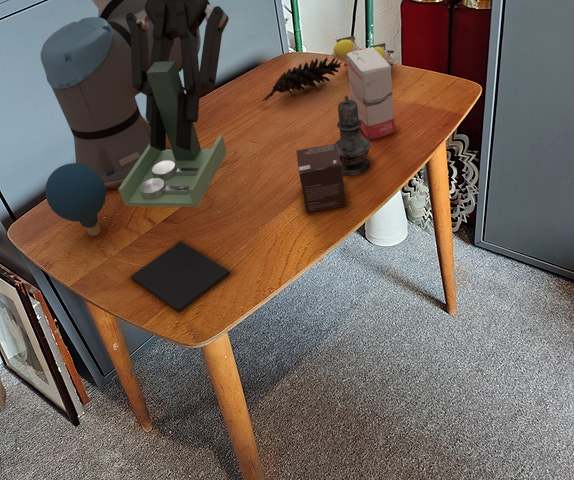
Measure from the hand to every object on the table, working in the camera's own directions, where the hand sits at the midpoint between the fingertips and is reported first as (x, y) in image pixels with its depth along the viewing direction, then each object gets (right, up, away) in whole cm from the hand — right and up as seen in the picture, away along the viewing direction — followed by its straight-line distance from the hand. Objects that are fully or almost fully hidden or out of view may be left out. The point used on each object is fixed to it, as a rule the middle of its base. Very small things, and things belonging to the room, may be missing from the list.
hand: (170, 147), depth 79 cm
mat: (0, -16, +7) cm, 17 cm away
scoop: (+1, -3, +3) cm, 4 cm away
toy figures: (+31, +26, +43) cm, 59 cm away
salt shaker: (+25, +1, +20) cm, 32 cm away
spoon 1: (0, -3, +2) cm, 4 cm away
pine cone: (+18, +19, +40) cm, 47 cm away
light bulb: (-15, -10, +17) cm, 25 cm away
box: (+20, -5, +15) cm, 25 cm away
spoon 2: (-1, -6, 0) cm, 6 cm away
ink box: (+29, +10, +27) cm, 41 cm away
